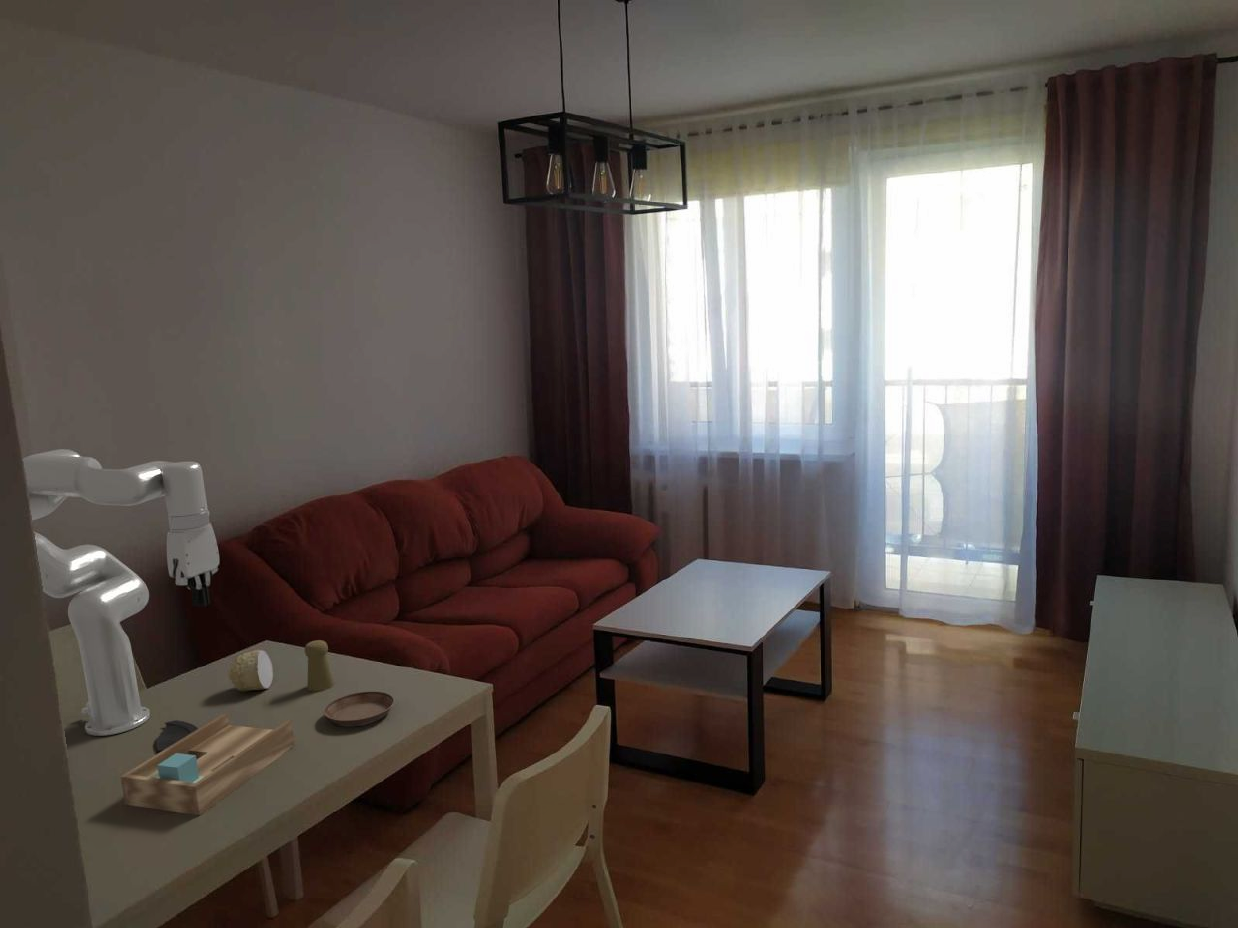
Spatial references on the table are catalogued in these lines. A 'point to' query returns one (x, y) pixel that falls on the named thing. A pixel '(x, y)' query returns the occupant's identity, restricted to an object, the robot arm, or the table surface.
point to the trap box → (207, 766)
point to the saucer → (359, 708)
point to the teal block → (179, 768)
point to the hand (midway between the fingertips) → (201, 605)
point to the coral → (251, 671)
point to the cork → (318, 666)
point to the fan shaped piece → (173, 734)
